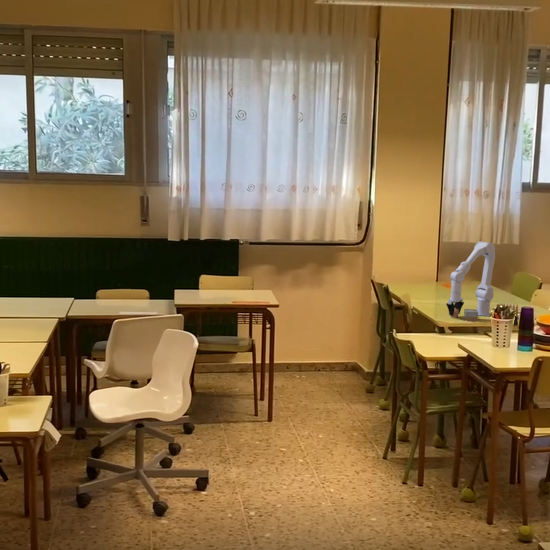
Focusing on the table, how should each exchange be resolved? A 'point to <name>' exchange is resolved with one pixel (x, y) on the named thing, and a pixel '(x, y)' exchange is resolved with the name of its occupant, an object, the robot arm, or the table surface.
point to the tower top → (470, 313)
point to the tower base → (471, 318)
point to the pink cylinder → (455, 313)
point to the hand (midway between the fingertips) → (454, 314)
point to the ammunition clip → (516, 313)
